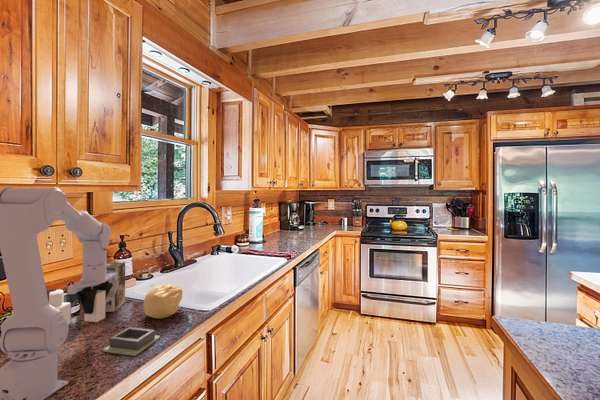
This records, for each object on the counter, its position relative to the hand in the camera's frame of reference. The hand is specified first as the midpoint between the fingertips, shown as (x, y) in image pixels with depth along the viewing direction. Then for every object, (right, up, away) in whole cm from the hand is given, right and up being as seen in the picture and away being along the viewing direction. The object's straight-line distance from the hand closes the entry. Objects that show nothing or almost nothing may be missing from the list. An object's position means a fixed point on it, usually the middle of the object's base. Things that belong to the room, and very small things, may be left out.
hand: (94, 310), depth 84 cm
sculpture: (+11, -9, +19) cm, 24 cm away
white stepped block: (-19, -9, +8) cm, 22 cm away
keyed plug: (0, -2, 0) cm, 2 cm away
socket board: (+12, -9, -1) cm, 15 cm away
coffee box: (-12, -9, +26) cm, 29 cm away
